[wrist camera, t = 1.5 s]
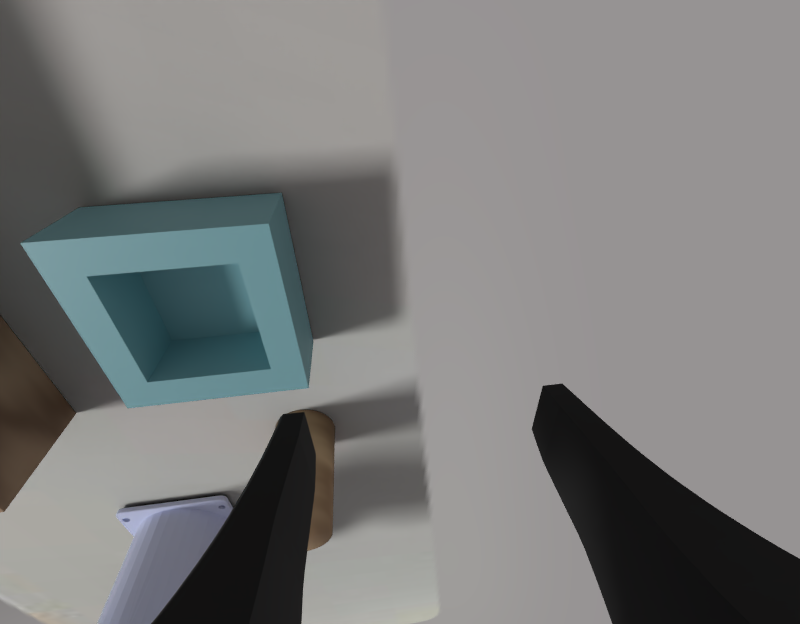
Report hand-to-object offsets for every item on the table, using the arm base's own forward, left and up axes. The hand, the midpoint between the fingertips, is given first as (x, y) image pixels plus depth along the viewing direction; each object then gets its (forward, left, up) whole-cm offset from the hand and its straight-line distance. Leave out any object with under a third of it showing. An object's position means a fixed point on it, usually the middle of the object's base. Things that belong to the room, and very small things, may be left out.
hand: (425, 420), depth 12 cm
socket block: (0, +9, -10) cm, 14 cm away
